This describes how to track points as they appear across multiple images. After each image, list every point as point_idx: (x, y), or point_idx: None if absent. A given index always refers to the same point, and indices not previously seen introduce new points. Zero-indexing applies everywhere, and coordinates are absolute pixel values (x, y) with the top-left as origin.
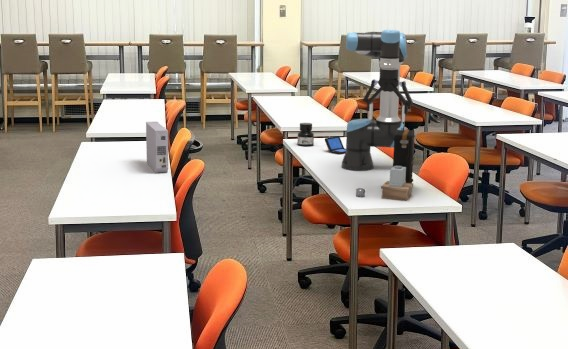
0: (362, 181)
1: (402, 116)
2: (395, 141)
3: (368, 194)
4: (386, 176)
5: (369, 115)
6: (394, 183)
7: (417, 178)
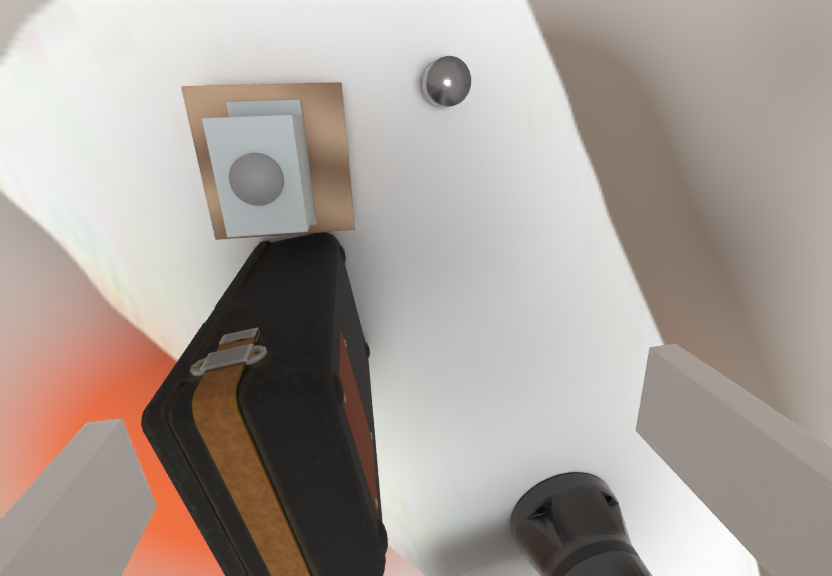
0: (500, 349)
1: (43, 505)
2: (313, 351)
3: (417, 140)
4: (439, 457)
5: (727, 381)
6: (271, 115)
7: None
